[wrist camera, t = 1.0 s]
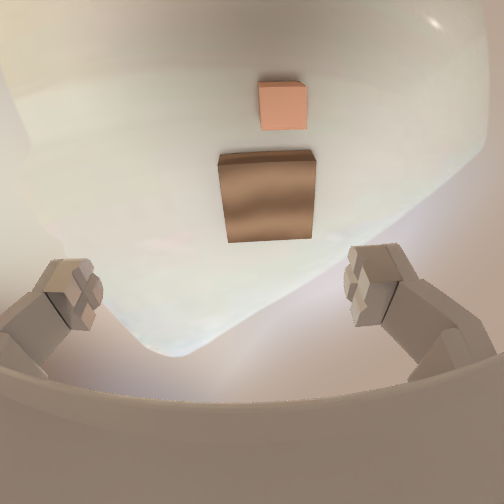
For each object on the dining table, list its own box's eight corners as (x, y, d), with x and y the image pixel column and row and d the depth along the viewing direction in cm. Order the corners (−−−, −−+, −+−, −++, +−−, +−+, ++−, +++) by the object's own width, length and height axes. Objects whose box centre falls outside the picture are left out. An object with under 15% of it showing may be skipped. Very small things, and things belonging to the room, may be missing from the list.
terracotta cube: (257, 82, 30) (259, 87, 27) (299, 81, 30) (306, 86, 26) (260, 119, 34) (261, 130, 30) (299, 118, 33) (306, 129, 30)
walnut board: (220, 154, 37) (217, 165, 34) (310, 149, 37) (316, 160, 34) (229, 226, 45) (228, 242, 42) (307, 222, 44) (311, 238, 41)
